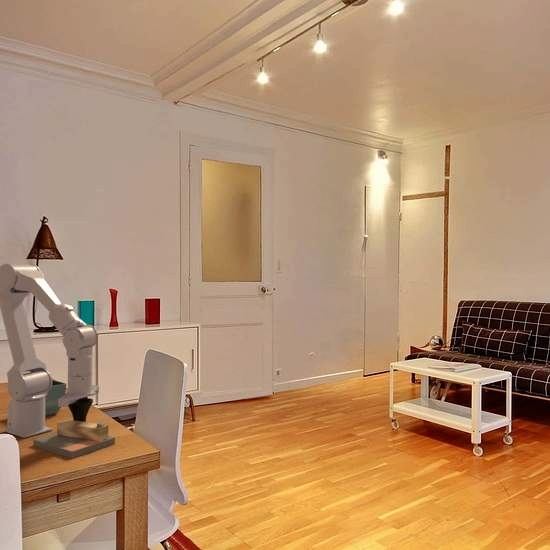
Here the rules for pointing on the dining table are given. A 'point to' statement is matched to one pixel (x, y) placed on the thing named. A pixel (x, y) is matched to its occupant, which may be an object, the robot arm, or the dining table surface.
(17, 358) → the robot arm
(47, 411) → the flower pot
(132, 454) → the dining table surface
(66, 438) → the grey rectangular frame
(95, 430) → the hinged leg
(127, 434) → the dining table surface
